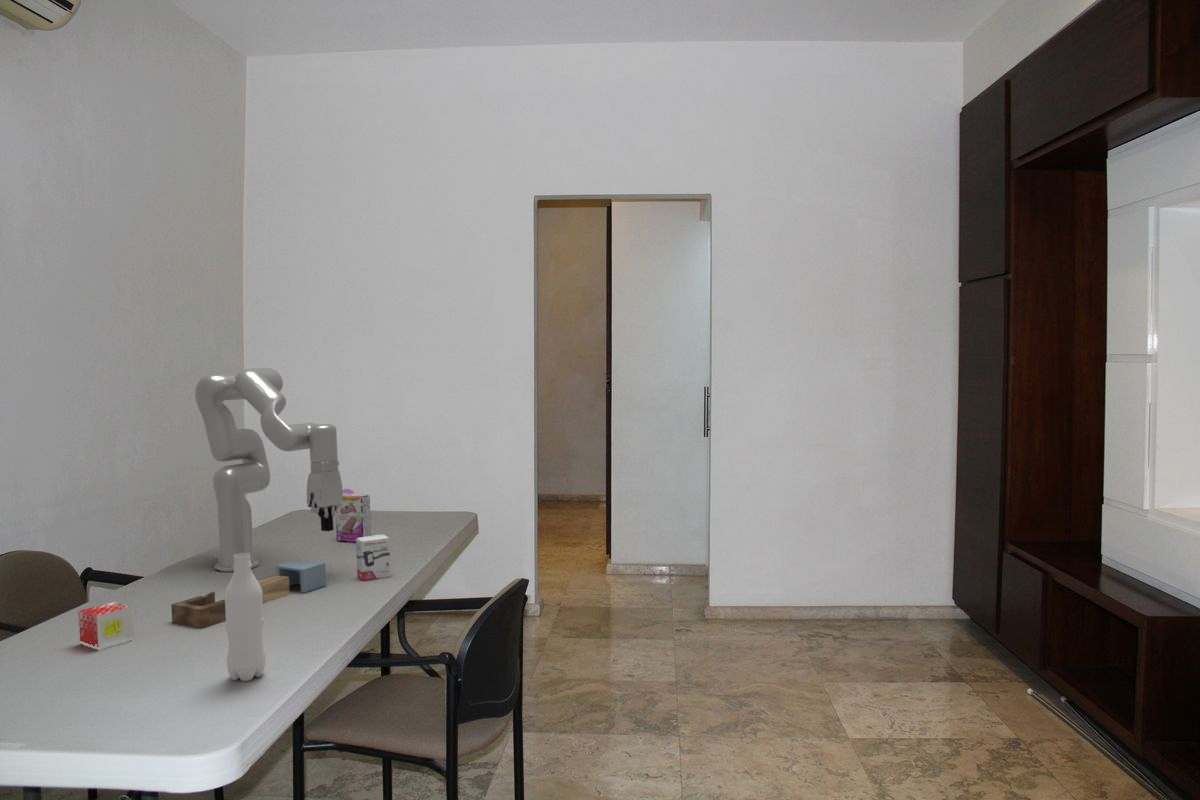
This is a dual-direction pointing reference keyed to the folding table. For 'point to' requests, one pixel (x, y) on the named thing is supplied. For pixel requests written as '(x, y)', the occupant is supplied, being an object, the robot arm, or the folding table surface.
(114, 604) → the red and white box
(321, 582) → the blue end cap
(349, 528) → the candy bar box
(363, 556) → the ink box
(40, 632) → the folding table surface
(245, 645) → the water bottle
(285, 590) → the oak slat
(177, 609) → the walnut end cap
